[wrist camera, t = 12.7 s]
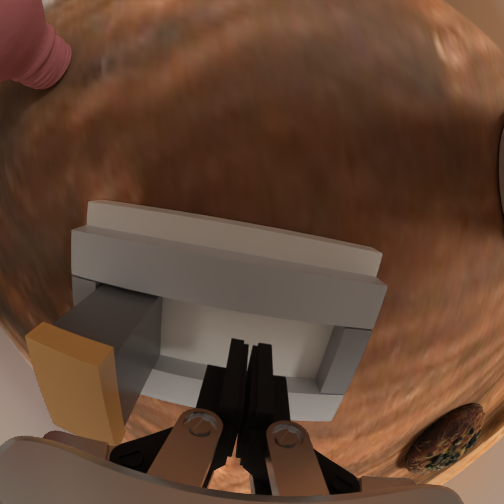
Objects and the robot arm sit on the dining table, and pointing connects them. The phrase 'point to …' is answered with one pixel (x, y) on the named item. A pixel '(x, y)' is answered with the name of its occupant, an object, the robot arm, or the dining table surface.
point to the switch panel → (233, 324)
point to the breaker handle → (97, 360)
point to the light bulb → (30, 45)
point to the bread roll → (446, 440)
